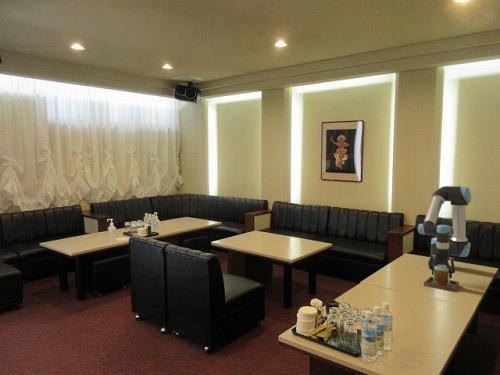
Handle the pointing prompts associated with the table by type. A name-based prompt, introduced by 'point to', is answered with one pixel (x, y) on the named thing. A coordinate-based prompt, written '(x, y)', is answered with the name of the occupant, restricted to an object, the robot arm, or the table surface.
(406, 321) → the table surface
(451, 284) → the walnut tray
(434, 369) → the table surface
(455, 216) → the robot arm
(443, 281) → the disposable coffee cup
